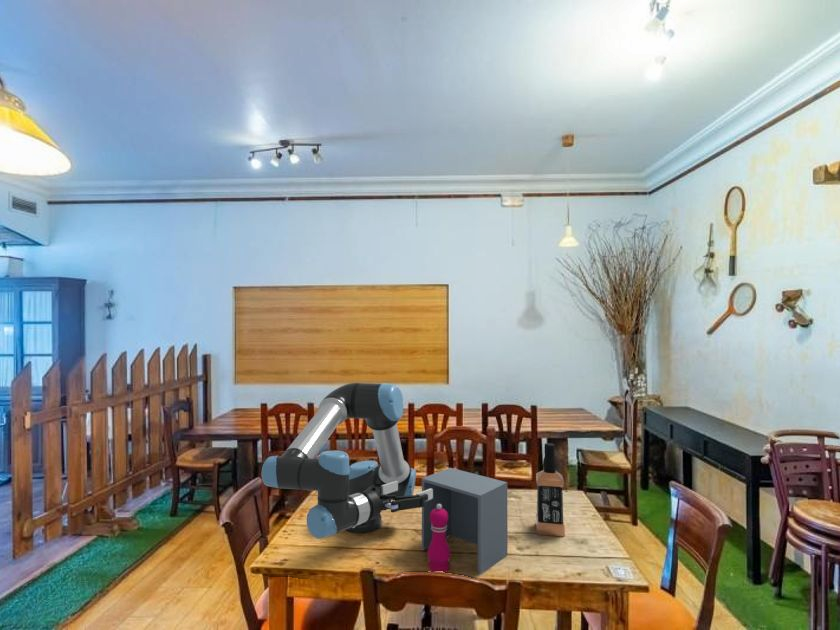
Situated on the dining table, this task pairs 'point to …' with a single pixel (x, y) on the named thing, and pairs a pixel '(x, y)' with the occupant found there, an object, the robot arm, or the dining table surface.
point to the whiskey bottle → (549, 496)
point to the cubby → (469, 512)
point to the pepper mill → (439, 540)
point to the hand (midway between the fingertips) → (413, 489)
